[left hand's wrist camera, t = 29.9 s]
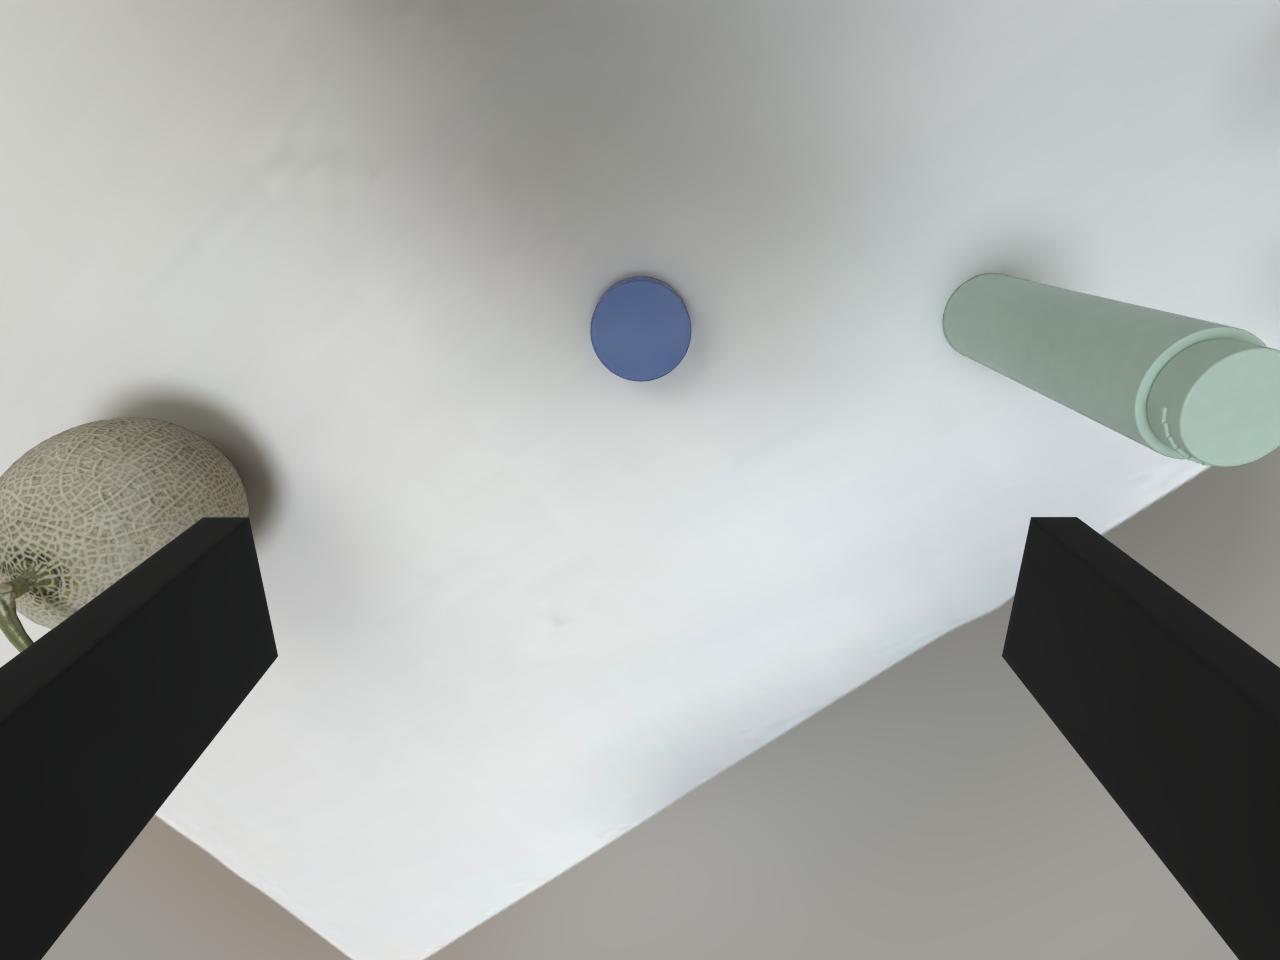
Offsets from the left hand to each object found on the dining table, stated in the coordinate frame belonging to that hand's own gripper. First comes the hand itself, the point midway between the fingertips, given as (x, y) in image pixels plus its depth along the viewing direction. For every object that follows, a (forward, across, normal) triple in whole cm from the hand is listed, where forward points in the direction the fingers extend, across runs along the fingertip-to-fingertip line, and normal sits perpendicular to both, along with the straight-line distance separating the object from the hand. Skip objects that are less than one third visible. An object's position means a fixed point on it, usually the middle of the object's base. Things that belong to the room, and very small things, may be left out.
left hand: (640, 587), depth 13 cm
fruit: (+29, -26, -9) cm, 40 cm away
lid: (+27, 0, 0) cm, 27 cm away
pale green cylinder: (+29, +18, 0) cm, 34 cm away
